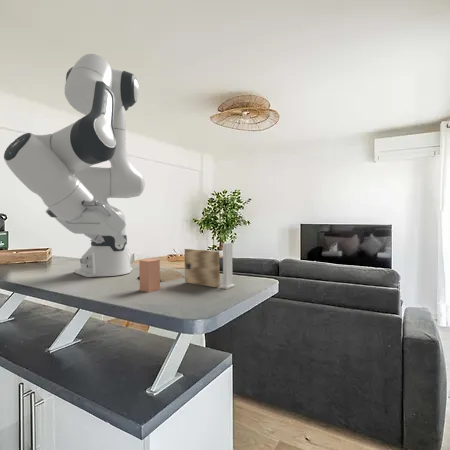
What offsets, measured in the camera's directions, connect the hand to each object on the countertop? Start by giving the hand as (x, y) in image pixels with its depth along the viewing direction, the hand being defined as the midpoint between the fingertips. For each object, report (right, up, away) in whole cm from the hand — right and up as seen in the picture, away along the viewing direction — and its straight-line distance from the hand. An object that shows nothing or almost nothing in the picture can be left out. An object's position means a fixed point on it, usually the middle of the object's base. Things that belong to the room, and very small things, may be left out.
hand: (111, 242), depth 79 cm
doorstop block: (+7, -14, +10) cm, 19 cm away
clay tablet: (+7, -14, +28) cm, 32 cm away
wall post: (+30, -14, +12) cm, 35 cm away
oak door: (+21, -14, +15) cm, 30 cm away
